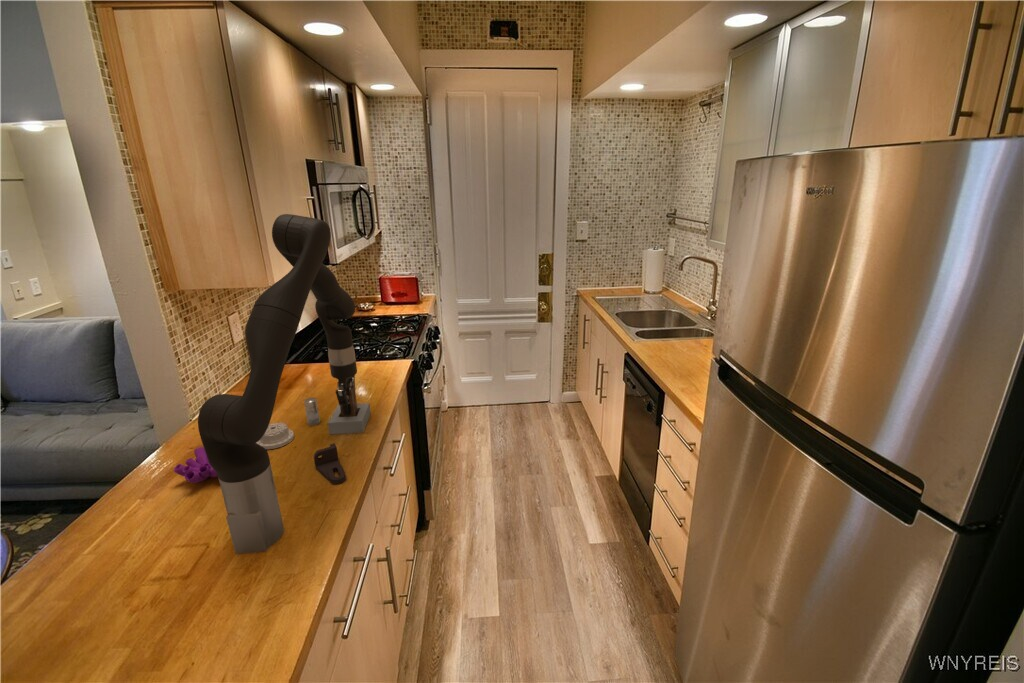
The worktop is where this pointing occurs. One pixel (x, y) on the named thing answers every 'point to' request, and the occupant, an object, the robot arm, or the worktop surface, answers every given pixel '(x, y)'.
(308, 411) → the grey metallic cylinder
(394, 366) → the worktop surface
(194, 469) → the purple coral piece
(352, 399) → the walnut peg
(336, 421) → the socket block
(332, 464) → the bracket
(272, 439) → the mechanical component
